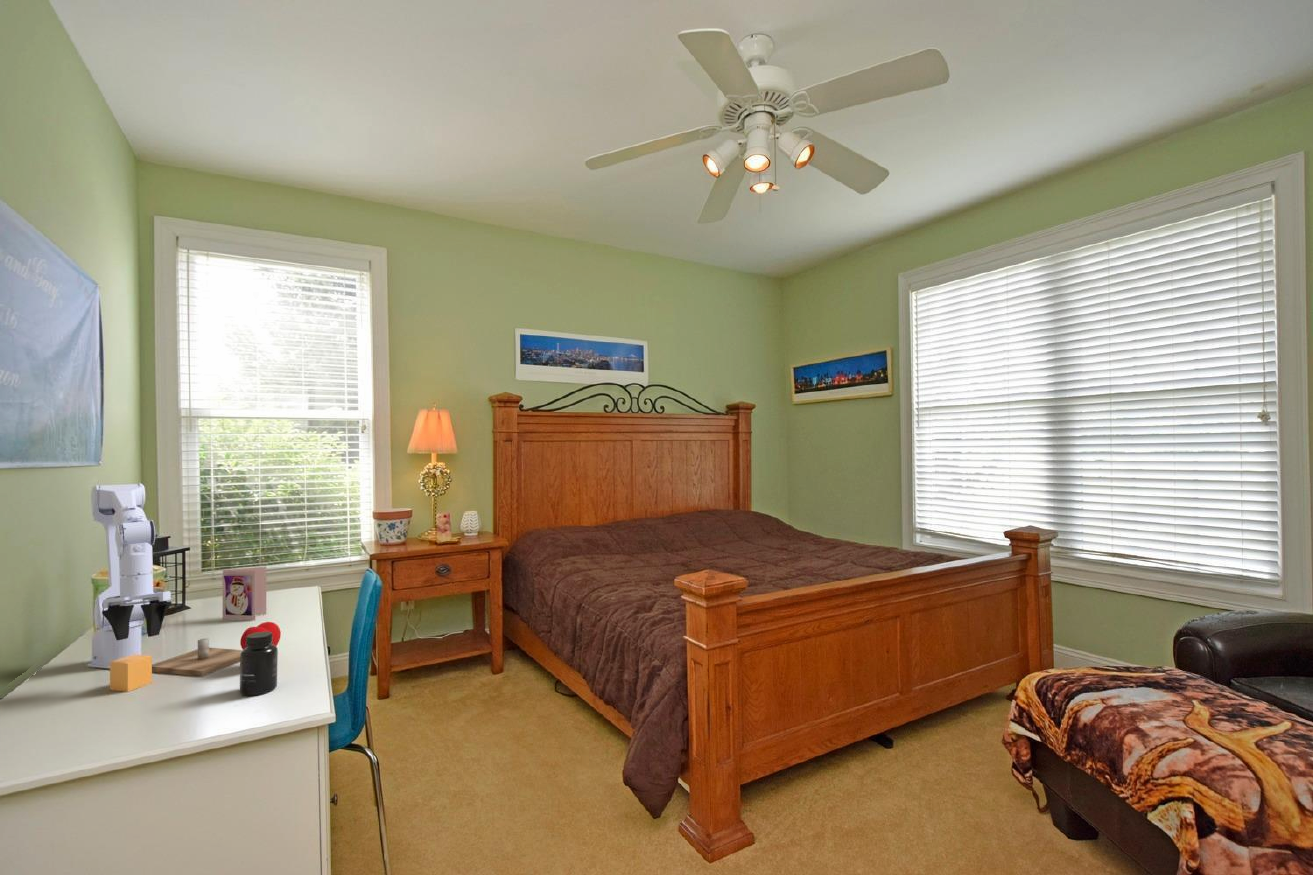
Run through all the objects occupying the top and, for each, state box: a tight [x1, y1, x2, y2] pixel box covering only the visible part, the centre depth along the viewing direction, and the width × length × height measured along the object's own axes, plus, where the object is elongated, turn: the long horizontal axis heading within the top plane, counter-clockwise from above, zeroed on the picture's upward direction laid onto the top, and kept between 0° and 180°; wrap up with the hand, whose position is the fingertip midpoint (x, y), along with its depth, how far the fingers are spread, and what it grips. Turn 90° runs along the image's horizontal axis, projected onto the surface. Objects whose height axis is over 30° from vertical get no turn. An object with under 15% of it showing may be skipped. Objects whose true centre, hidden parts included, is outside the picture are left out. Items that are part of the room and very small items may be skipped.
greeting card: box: [222, 566, 267, 621], centre depth 190 cm, size 11×7×15 cm, turn 81°
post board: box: [152, 637, 243, 677], centre depth 149 cm, size 16×14×6 cm
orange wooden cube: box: [109, 654, 153, 693], centre depth 135 cm, size 5×5×6 cm
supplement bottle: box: [239, 632, 279, 697], centre depth 132 cm, size 7×7×12 cm
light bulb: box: [240, 621, 282, 650], centre depth 147 cm, size 9×7×10 cm
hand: (138, 637), depth 136 cm, fingers open, 7 cm apart
